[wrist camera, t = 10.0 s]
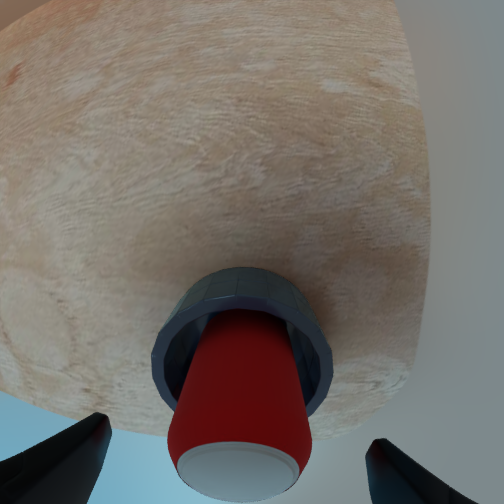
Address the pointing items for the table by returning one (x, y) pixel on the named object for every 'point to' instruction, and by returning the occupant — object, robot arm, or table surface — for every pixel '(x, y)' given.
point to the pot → (251, 298)
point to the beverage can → (241, 411)
